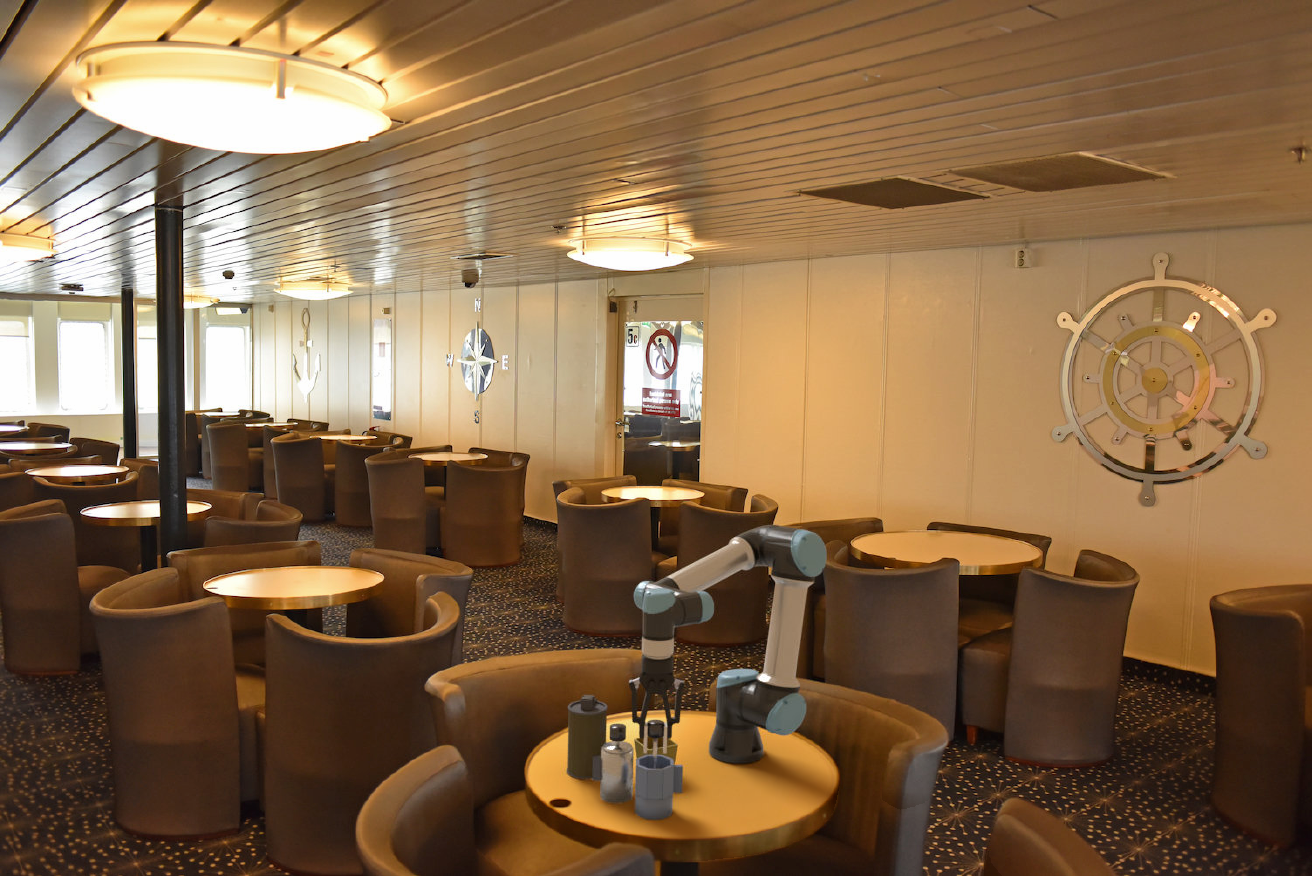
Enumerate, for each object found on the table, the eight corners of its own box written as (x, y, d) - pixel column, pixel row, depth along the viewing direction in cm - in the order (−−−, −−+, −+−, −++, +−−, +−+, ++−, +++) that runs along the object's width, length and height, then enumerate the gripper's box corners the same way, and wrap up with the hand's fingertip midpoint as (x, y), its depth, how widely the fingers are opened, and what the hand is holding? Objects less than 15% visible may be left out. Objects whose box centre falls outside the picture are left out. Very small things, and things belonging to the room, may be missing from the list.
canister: (600, 781, 241) (602, 705, 240) (561, 777, 244) (562, 701, 242) (610, 764, 252) (612, 691, 251) (573, 760, 254) (574, 688, 253)
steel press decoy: (632, 789, 237) (634, 720, 236) (632, 803, 229) (634, 732, 228) (592, 788, 237) (594, 720, 236) (591, 803, 229) (593, 732, 228)
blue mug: (680, 803, 230) (681, 755, 229) (682, 820, 221) (683, 770, 220) (634, 802, 230) (635, 754, 229) (634, 819, 221) (636, 769, 220)
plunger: (667, 773, 228) (669, 717, 228) (668, 785, 222) (670, 727, 221) (640, 773, 228) (641, 717, 227) (640, 785, 222) (642, 727, 221)
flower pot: (647, 784, 241) (648, 749, 240) (632, 771, 248) (633, 738, 248) (677, 778, 245) (678, 744, 244) (662, 765, 252) (662, 733, 252)
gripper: (692, 650, 227) (689, 745, 229) (621, 649, 227) (619, 744, 228) (694, 659, 220) (691, 757, 221) (621, 658, 219) (619, 756, 221)
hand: (655, 750), depth 225 cm, fingers closed on plunger, 4 cm apart
